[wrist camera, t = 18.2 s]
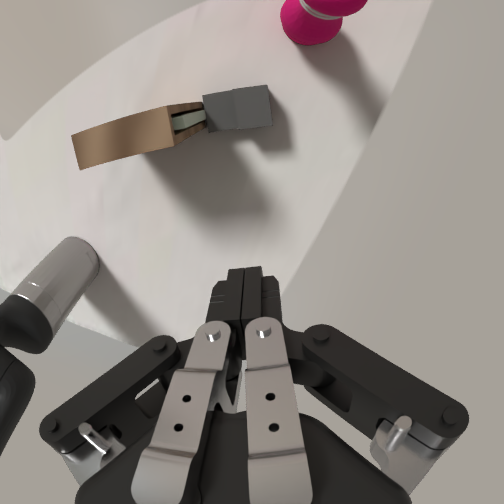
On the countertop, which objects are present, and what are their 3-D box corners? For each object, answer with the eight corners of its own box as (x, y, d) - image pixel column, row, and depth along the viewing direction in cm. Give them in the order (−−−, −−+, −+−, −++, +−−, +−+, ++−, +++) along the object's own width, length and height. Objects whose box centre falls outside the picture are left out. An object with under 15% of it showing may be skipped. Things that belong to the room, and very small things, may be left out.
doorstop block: (211, 130, 38) (205, 135, 33) (205, 95, 35) (198, 95, 31) (271, 122, 37) (272, 125, 33) (266, 86, 35) (267, 84, 30)
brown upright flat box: (138, 141, 38) (79, 170, 24) (133, 117, 36) (71, 135, 23) (205, 126, 37) (174, 146, 24) (201, 101, 36) (166, 105, 22)
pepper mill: (340, 15, 29) (402, -37, 11) (322, 57, 32) (378, 26, 15) (289, -5, 28) (312, -78, 10) (270, 36, 31) (280, -16, 14)
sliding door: (125, 137, 37) (78, 156, 26) (123, 129, 36) (75, 146, 25) (207, 118, 36) (185, 128, 25) (206, 109, 35) (182, 115, 24)
